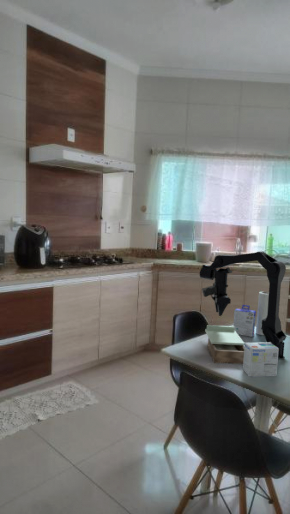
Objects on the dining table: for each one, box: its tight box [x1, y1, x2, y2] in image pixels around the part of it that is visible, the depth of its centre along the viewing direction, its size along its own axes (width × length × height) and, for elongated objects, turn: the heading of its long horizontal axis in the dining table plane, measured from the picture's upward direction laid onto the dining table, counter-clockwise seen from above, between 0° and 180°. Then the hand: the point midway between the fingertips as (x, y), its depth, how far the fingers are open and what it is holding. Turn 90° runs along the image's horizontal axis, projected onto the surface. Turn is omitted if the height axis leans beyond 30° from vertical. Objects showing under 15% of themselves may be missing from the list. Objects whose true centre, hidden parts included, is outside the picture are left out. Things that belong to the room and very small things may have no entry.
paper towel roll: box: [255, 291, 269, 337], centre depth 172 cm, size 7×6×21 cm
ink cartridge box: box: [232, 304, 257, 338], centre depth 172 cm, size 10×6×14 cm, turn 64°
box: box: [207, 337, 245, 365], centre depth 142 cm, size 13×16×5 cm
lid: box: [204, 324, 246, 346], centre depth 149 cm, size 14×17×3 cm
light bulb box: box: [242, 341, 279, 378], centre depth 127 cm, size 11×7×11 cm, turn 98°
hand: (218, 314), depth 162 cm, fingers open, 6 cm apart
